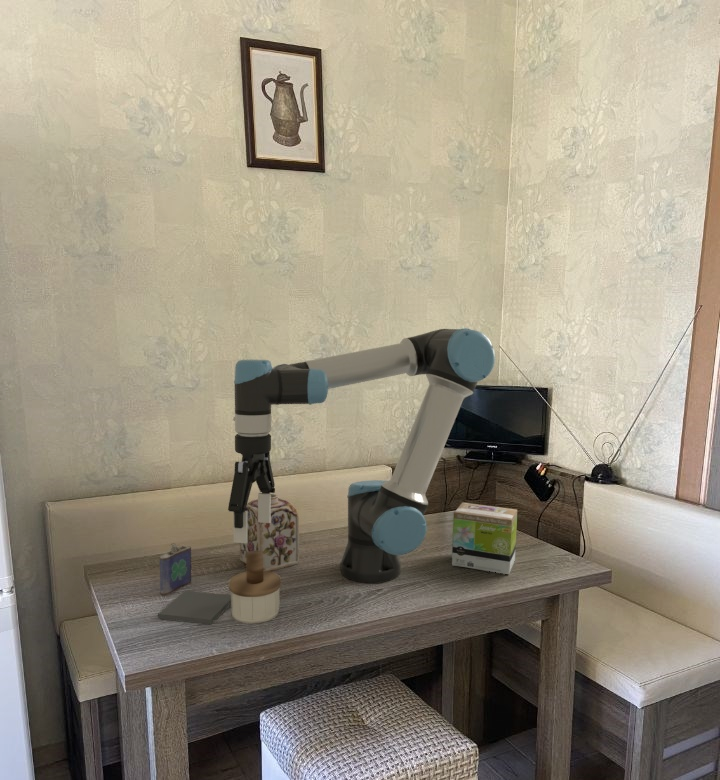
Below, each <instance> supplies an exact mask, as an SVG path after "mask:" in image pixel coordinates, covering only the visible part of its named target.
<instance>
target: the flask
mask: <svg viewBox="0 0 720 780" xmlns="http://www.w3.org/2000/svg"><path fill="white" fill-rule="evenodd" d="M169 547H170V550H169V551H168V552H165V553H164V554H162V555H160V556H159V587H160V588H159V594H160V595H161V596H164V597H165V596H166V595H172V594H173V593H175V592H177V591H179V590H181V588H184V587H186V586H188V585H190V584H192V547H191V546H189V545H181V546H178V545H177V544H176V543H175V542H173V543H171V544H169Z"/></svg>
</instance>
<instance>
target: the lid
mask: <svg viewBox="0 0 720 780" xmlns="http://www.w3.org/2000/svg"><path fill="white" fill-rule="evenodd" d="M245 565H246V566H245V567H246V569H245V570H246V571H243V572H240V573H238V574H235V575H233V576H232V577H231V578H230V579H229V580H228V590H229V592H230V593H231V592H232V593H233V594H236V595H239V596H244V597H258V596H264V595H268V594H271V593H273V592H275V591H277V590H278V589H279V590H280V588H281V587H282V586H281V585H282V581H281V580H282V579H281V576H280V575H279V574H277V573H275V572H274V571H270V572H269V571H263V552H262V551H249V552H247V553H246V563H245Z"/></svg>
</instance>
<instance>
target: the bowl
mask: <svg viewBox="0 0 720 780" xmlns="http://www.w3.org/2000/svg"><path fill="white" fill-rule="evenodd" d="M230 595H231V604H230V610H231V617H232V618H233V620H234V621H236V622H239V623H244V624H251V625H252V624H254V625H255V624H260V623H261V624H262V623H265V622H269V621H271V620H273V619H274V618H276V617H277V616H278V615H279V613H280V611H279V609H280V588H279V589H278V590H277V591H275V592H273V593H271V594H268V595H264V596H258V597H244V596H239V595H236V594H233V593H232V592H231V591H230Z"/></svg>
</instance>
